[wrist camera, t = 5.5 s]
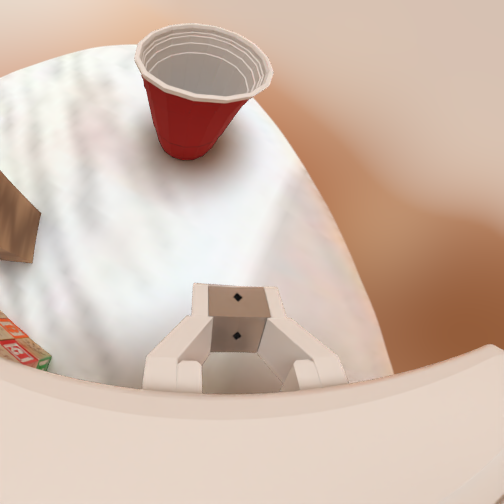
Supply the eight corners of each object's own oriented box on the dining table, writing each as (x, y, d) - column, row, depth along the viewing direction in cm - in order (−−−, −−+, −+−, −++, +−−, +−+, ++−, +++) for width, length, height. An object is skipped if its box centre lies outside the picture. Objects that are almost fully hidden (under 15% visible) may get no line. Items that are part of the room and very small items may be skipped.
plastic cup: (251, 171, 28) (300, 94, 17) (148, 193, 24) (142, 108, 13) (221, 98, 30) (250, 20, 18) (132, 112, 26) (130, 26, 15)
